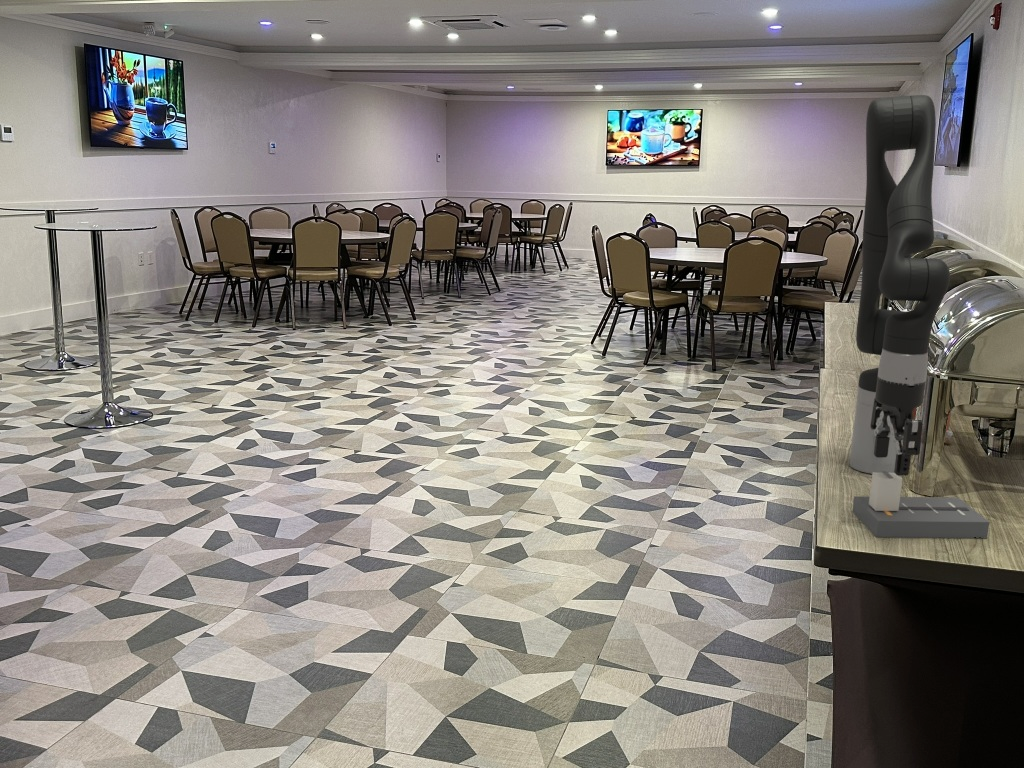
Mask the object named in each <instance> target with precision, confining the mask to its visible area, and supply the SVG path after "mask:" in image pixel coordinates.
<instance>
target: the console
mask: <svg viewBox="0 0 1024 768" xmlns="http://www.w3.org/2000/svg"><path fill="white" fill-rule="evenodd" d="M869 498H870V496H853V504H852V513H853V515H855V516H856V517H857V518H858V519H859V520H860V522H862V524H863V525H864V526H865V527H866V528H867V529H868V530H869V531H870V532H871V533H872V534H873V535H874V536H875V538H908V539H909V538H912V539H913V538H915V539H916V538H917V539H918V538H919V539H921V538H923V539H924V538H925V539H927V538H929V539H933V538H934V539H937V538H938V539H988V535H989V534H988V533H989V529H990V523H991V522H990V521H989V520H988V519H986V518H985V517H984V516H982V515H981V513H979V512H977V511H976V510H975V509H974V508H972V506H970V505H969V504H967V503H966V502H965V501H964V500H962V499H961V498H960V497H958V496H957V497H955V496H954V497H953V496H952V497H949V496H946V497H944V496H943V497H942V496H938V497H937V496H936V497H935V496H930V497H929V496H900V502H899V509H898V511H875V510H874V509H873V508H872V507H871V506H870V505H869ZM974 537H976V538H974ZM979 537H981V538H979ZM984 537H986V538H984Z"/></svg>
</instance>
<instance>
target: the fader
mask: <svg viewBox="0 0 1024 768" xmlns="http://www.w3.org/2000/svg"><path fill="white" fill-rule="evenodd" d="M902 485H903V478H902V477H901V476H898V475H896V474H895V473H888V472H887V471H882V472H873V474H871V484H870V491H869V497H870V498H869V505H870V506H871V507H872V508H873V509H874V510H875V511H898V509H899V502H900V497H901V493H902V488H903V487H902Z"/></svg>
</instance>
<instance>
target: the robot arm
mask: <svg viewBox="0 0 1024 768" xmlns="http://www.w3.org/2000/svg"><path fill="white" fill-rule="evenodd" d="M936 118H937V117H936V108H935V104H934V101H933V99H932V97H931V96H929V95H927V94H913V95H900V96H891V97H880V98H876V99H874V100H872V101H871V102H870V104H869V105H868V109H867V114H866V123H865V125H866V126H865V147H866V148H865V149H866V150H865V151H866V153H865V154H866V157H865V158H866V161H865V163H866V166H865V167H866V188H865V189H866V190H865V202H864V216H863V227H862V229H863V230H862V246H861V247H862V248H861V250H862V259H861V260H862V264H861V265H862V266H861V272H862V273H861V286H860V288H861V289H860V296H859V304H858V314H857V320H856V321H857V322H856V333H855V335H856V336H855V341H856V346H857V350H858V351H860V352H861V353H864V354H868V355H875V356H876V355H877V356H880V358H879V362H878V367H875V368H874V367H873V368H870V369H866V370H863V371H862V372H860V373H859V376H858V386H857V394H856V403H855V412H854V418H853V419H854V420H853V430H852V439H851V445H850V446H851V447H850V453H849V455H850V456H849V463H848V464H849V466H850V467H851V468H852V469H854V470H856V471H859V472H863V473H866V474H871V475H872V474H873V472H882V471H887V472H888V473H895V474H896V475H898V476H900V477H901V476H903V477H904V476H908V475H909V473H910V467H911V459H912V456H920V452H921V446H922V445H921V444H922V442H921V435H922V425H923V423H922V420H914V419H913V409H915V408H916V407H919V406H921V405H922V403H923V398H924V390H925V383H926V375H927V367H928V347H929V346H930V339H931V332H932V326H933V324H934V321H935V318H936V315H937V314H938V311H939V308H940V306H941V304H942V302H943V300H944V298H945V296H946V293H947V291H948V288H949V285H950V281H951V273H950V269H949V266H948V265H947V263H946V262H945V261H944V260H942V259H940V258H936V257H935V258H933V257H932V258H931V257H929V258H928V257H927V258H926V257H925V258H921V257H920V258H919V257H912V256H913V255H916V254H919V253H922V252H925V251H927V250H928V249H930V248H932V247H931V246H932V245H933V244H934V240H935V230H934V229H935V228H934V220H933V219H934V217H933V205H932V203H933V202H932V201H933V200H932V192H933V189H932V188H933V187H932V186H933V178H934V177H933V176H934V167H935V148H936V127H937V126H936V123H937V119H936ZM905 150H914V157H913V158H912V159H913V160H912V161H911V164H910V166H909V168H908V169H907V171H906V172H905V174H904V175H903V176H902V178H901V180H900V181H899V182H898V184H897V183H896V181H895V180H894V177H893V176H892V174H891V172H890V170H889V168H888V166H887V162H886V158H885V157H886V156H885V154H886V153H887V152H890V151H905ZM881 296H883V297H884V298H886V299H887V300H890V301H899V302H900V301H902V302H905V301H906V302H907V301H908V302H918V304H917V305H916V306H915V307H914V308H913V309H912V310H909V311H906V310H905V311H904V310H903V311H901V310H893V309H886V308H884V309H883V308H879V307H878V301H879V299H880V297H881ZM901 435H903V436H901Z"/></svg>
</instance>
